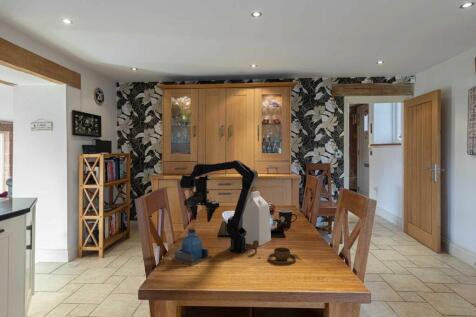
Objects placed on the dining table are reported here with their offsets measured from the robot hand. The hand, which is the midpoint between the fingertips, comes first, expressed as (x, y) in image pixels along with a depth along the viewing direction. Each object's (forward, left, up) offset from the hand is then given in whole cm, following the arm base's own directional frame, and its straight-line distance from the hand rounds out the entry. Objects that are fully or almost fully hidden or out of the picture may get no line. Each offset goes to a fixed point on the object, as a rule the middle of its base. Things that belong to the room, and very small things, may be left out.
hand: (201, 220), depth 151 cm
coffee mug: (-15, -61, -13) cm, 64 cm away
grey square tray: (-8, +15, -13) cm, 21 cm away
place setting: (-37, -9, -14) cm, 41 cm away
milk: (-16, -24, -13) cm, 32 cm away
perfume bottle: (-8, +15, -12) cm, 21 cm away
